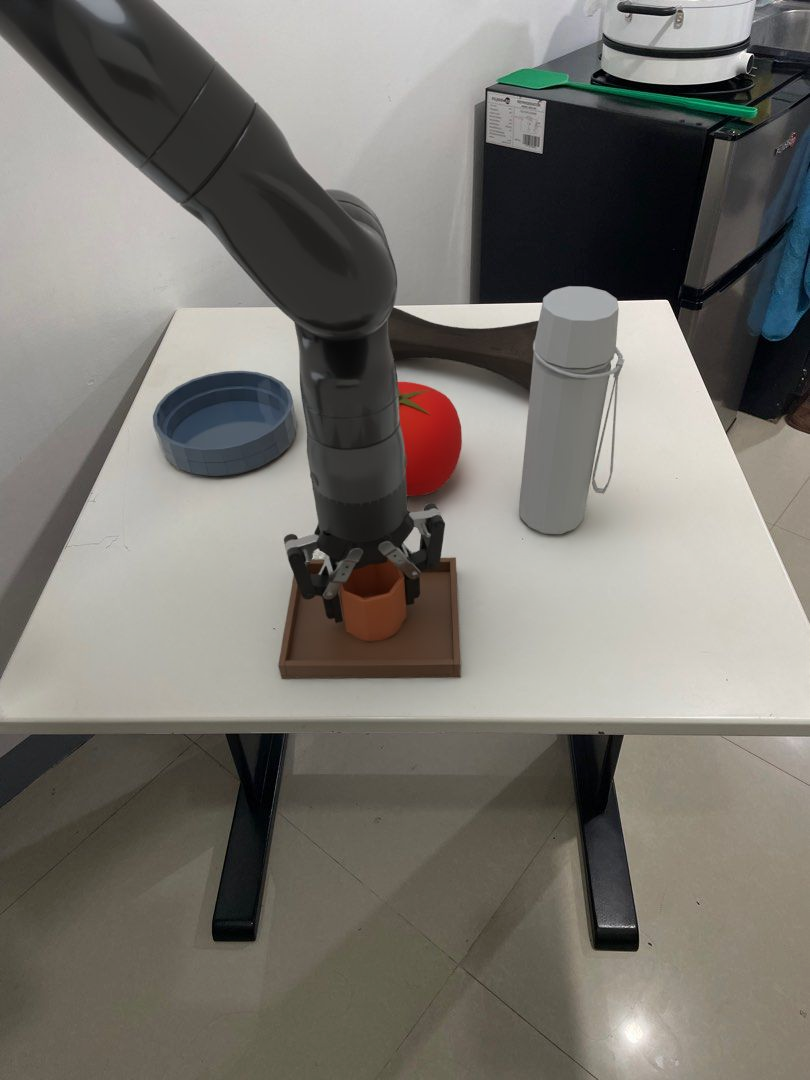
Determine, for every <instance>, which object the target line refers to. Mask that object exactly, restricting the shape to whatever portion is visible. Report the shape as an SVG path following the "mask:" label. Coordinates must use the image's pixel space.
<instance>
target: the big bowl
mask: <svg viewBox="0 0 810 1080" xmlns="http://www.w3.org/2000/svg"><path fill="white" fill-rule="evenodd" d="M152 422H153V423H152V424H153V425H152V427H153V429H154V432H155V435H156V438H157V441H158V443H159V447H160V450H161V452H162V454H163V455H164V457H165V458H166V460H167V462H169V463H170V464H171V465H173V466H174V467H175V468H177V469H179V470H181V471H185V472H187V473H189V474H195V475H202V476H209V477H225V476H232V475H239V474H244V473H247V472H250V471H253V470H256V469H258V468H260V467H263V466H264V465H267V464H268V463H270V462H271V461H273V460H274V459H277V458H278V457H279V456H280V455H282V453H284V452H285V451H286V450H287V449H288V448H289V447H290V446H291V444H292V442H293V440H294V439H295V437H296V435H297V429H298V423H297V422H298V421H297V417H296V410H295V405H294V399H293V396H292V393H291V390H290V389H289V388H288V387H287V385H285V383H284V382H283V381H281V380H279V379H277V378H276V377H274V376H272V375H268V374H266V373H262V372H258V371H249V370H228V371H227V370H226V371H219V372H214V373H209V374H205V375H202V376H199V377H198V376H197V377H196V378H193V379H190V380H188V381H186V382H184V383H181V384H179V385H178V386H176V387H175V388H173V389H171V390H170V391H169V392H168V393H166V394H165V395H164V396H163V397H162V398H161V400H160V401H159V402H158V403H157V405H156V406H155V408H154V411H153V414H152Z"/></svg>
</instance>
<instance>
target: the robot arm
mask: <svg viewBox="0 0 810 1080" xmlns="http://www.w3.org/2000/svg"><path fill="white" fill-rule="evenodd" d="M0 37H1V38H2V39H3V40H4V41H5V42H6V43H7V44H8V45H9V46H10V47H11V48H12V49H13V50H14V51H15V53H16V54H18V55H19V56H20V58H22V59H23V61H25V62H26V63H27V64H28V66H30V67H31V68H32V70H34V72H35V73H37V75H38V76H39V77H40V78H41V79H42V80H43V81H44V82H45V83H46V84H47V85H48V86H50V88H51V89H52V90H53V91H54V92H55V93H56V94H57V96H59V97H60V98H61V99H62V100H63V101H64V102H65V103H66V105H68V106H69V107H70V108H71V109H72V110H73V111H74V112H75V113H76V114H77V115H78V116H79V117H80V118H81V119H82V120H83V121H84V122H85V123H86V124H87V125H88V126H89V127H90V128H91V129H92V130H93V131H95V133H97V134H98V135H99V136H100V137H101V138H102V139H103V140H104V141H105V142H107V143H108V144H109V145H110V146H111V147H112V148H113V149H114V150H115V151H116V152H117V153H118V154H120V155H121V156H122V157H123V158H124V159H125V160H126V161H128V162H129V164H131V165H132V166H133V167H134V168H135V169H137V170H138V171H139V172H140V173H141V174H142V175H144V176H145V177H146V178H147V179H149V180H150V181H151V182H152V183H153V184H154V185H155V186H157V187H158V188H159V189H160V190H161V191H162V192H164V194H166V195H167V196H169V198H171V199H172V200H173V201H174V202H176V203H177V204H178V205H179V206H180V207H181V208H183V209H184V210H185V211H186V212H187V213H189V214H190V215H191V216H193V217H194V218H196V219H197V220H198V221H199V222H201V223H202V224H203V225H204V226H205V227H206V228H207V229H208V230H209V231H210V232H211V233H212V234H213V236H214V237H216V239H217V240H218V242H220V244H221V245H222V246H223V248H224V250H226V251H227V253H228V254H229V255H230V256H231V258H232V259H233V260H234V261H235V262H236V263H237V264H238V266H239V267H240V268H241V269H242V270H243V271H244V272H245V273H246V275H247V276H248V277H249V278H250V279H251V280H252V281H253V282H254V284H255V285H256V286H257V287H258V288H259V289H260V290H261V291H262V293H263V294H264V295H265V296H266V297H267V299H269V300H270V301H271V302H272V303H273V304H274V305H275V307H276V308H278V309H279V310H280V311H281V312H282V313H283V314H284V315H285V316H287V317H288V318H289V319H290V320H291V321H293V323H294V329H295V333H296V338H297V344H298V354H299V355H298V357H299V360H298V361H299V364H298V365H299V367H298V368H299V389H300V396H301V404H302V410H303V415H304V416H303V417H304V421H305V427H306V429H305V430H306V455H307V461H308V468H309V476H310V477H309V478H310V479H311V487H312V492H313V498H314V504H315V505H314V506H315V510H316V517H317V525H316V528H315V530H314V533H313V534H309V535H307V536H303V537H299V536H298V535H297V534H294V533H288V534H287V535H285V536H284V538H283V544H284V548H285V553H286V556H287V560H288V563H289V566H290V568H291V571H292V573H293V577H294V576H295V579H296V582H297V584H298V587H299V590H300V592H301V595H302V597H303V598H304V599H306V600H309V599H312V598H314V597H315V595H317V596H321V597H322V599H323V604H324V608H325V612H326V616H327V617H328V618H329V619H333V618H334V619H335V623H338V622H343V618H342V611H341V605H340V598H339V594H338V590H339V588H340V587H341V585H342V583H346V581H347V580H348V578H349V576H350V574H351V572H352V570H356V569H360V568H363V567H365V566H368V565H370V564H381V563H386V562H387V559H389V560H390V561H391V562H392V563H393V564H394V565H395V566H396V567H397V568H398V569H399V570H402V572H403V575H404V580H405V598H406V604H407V605H411V604H414V598H418V597H419V595H420V575H421V572H422V571H424V570H426V569H429V570H435V569H437V568H438V567H439V565H440V559H441V558H442V550H443V543H444V536H445V535H444V534H445V527H446V522H445V521H444V519H443V516H442V514H441V512H440V510H439V508H438V506H437V504H436V503H434V502H428V503H426V504H425V505H424V506H423V510H421V511H413V512H411V511H410V510H409V509H408V496H407V486H406V465H407V458H406V454H405V447H404V438H403V433H402V429H401V424H400V416H399V397H398V382H399V381H398V373H397V367H396V362H395V360H394V358H393V354H392V350H391V346H390V342H389V336H388V317H389V315H390V314H391V311H392V309H393V307H394V308H395V304H396V300H397V299H396V298H397V293H398V274H397V269H396V264H395V261H394V258H393V255H392V252H391V248H390V245H389V242H388V240H387V236H386V233H385V230H384V228H383V224H382V223H381V220H380V219H379V217H378V216H377V215H376V213H375V212H374V210H372V208H371V207H370V206H369V205H368V204H367V203H366V202H365V201H364V200H362V199H361V198H360V197H358V196H356V195H355V194H353V193H351V192H348V191H345V190H340V189H333V188H329V189H326V188H325V189H324V188H323V186H322V185H321V184H320V183H319V182H317V180H316V179H315V178H314V177H313V176H312V175H311V174H310V173H309V172H308V171H307V170H306V169H305V168H304V167H303V165H302V164H301V163H300V162H299V160H298V158H297V157H296V155H295V153H294V152H293V150H292V148H291V145H290V143H289V141H288V139H287V137H286V136H285V134H284V133H283V131H282V130H281V128H280V127H279V126H278V124H277V123H276V122H275V120H274V119H273V118H272V116H270V114H269V113H268V112H267V111H266V110H265V109H264V108H263V107H262V106H261V105H260V104H259V102H257V101H255V99H254V97H253V96H252V95H251V94H249V92H248V91H247V90H246V89H245V88H244V87H243V86H242V85H241V84H240V83H239V82H238V81H237V80H236V79H235V78H234V77H233V76H232V75H231V74H230V72H228V71H227V70H226V68H225V67H224V66H222V64H220V63H219V61H218V60H216V59H215V57H214V56H213V55H211V53H210V52H208V50H207V49H206V48H204V46H203V45H202V44H201V43H200V42H199V41H197V39H195V37H194V36H193V35H191V33H189V32H188V31H187V30H186V29H185V27H183V26H182V25H181V24H180V23H179V22H178V21H177V20H176V19H175V18H174V17H173V16H171V14H170V13H168V12H167V11H166V9H164V8H163V7H161V5H159V3H157V2H156V1H155V0H0ZM414 528H416V529H417V530H418V532H419V534H420V538H419V549H418V550H417V551H415V552H412V551H411V549H409V548H408V546H407V545H406V544H405V543H404V542H405V541H406V540H407V539H408V537H409V536H410V535H411V534H412V532H413V530H414ZM316 550H319V551H320V552H322V553H323V554H324V559H325V561H324V564H323V566H322V568H321V570H320V572H319V574H318V575H311V574H310V571H309V568H308V566H307V565H309V564H310V561H311V560H312V559H313V558H314V552H315V551H316Z"/></svg>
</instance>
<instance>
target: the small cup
mask: <svg viewBox="0 0 810 1080" xmlns="http://www.w3.org/2000/svg"><path fill="white" fill-rule="evenodd" d="M338 594H339V598H340V605H341V611H342V618H343V622H344V625H345V628H346V631H347V632H348V633H350V634H351V635H353V636H354V637H356V638H358V639H361V640H364V641H380V640H384V639H387V638H389V637H391V636H392V635H394V634H395V633H396V632H397V631H398V630H399V629H400V627H401V626H402V624H403V621H404V620H405V618H406V598H405V580H404V575H403V572H402V570H399V569H398V568H397V567H396V566H395V565H394V564H393V563H392V562H391V561H390V560H389V559H387V562H386V563H381V564H370V565H368V566H365V567H363V568H360V569H356V570H352V572H351V574H350V576H349V578H348V580H347V581H346V583H342V585H341V587H340V588H339V590H338Z"/></svg>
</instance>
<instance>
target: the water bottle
mask: <svg viewBox="0 0 810 1080" xmlns="http://www.w3.org/2000/svg"><path fill="white" fill-rule="evenodd" d="M619 310H620V308H619V303H618V298H616V297H615V296H613V295H612V294H610V293H609V292H608V291H606V290H603V289H598V288H595V287H591V286H579V285H578V286H575V285H573V286H572V285H568V286H565V287H560V288H557V289H553V290H551V291H550V292H548V293H547V294H546V295H545V296H544V297H543V298H542V303H541V308H540V313H539V318H538V321H539V322H538V327H537V332H536V337H535V340H534V343H533V350H534V357H533V367H532V377H531V388H530V391H529V399H528V400H529V401H528V410H527V420H526V429H525V430H526V431H525V440H524V451H523V461H522V471H521V483H520V493H519V502H518V516H519V517H520V518H521V519H522V521H523V522H524V523H525V524H526V525H527V526H528V528H531V529H533V530H535V531H537V532H539V533H541V534H543V535H562V534H565V533H567V532H570V531H574V530H575V529H576V528H577V527H578V526H579V525H580V524H581V522H582V521H583V520H584V518H585V513H586V507H587V502H588V497H589V490H590V485H592V488H593V491H594V493H597V494H602V495H604V494H605V493H606V491H607V489H608V488H609V484H610V482H611V478H612V474H613V472H614V456H615V440H616V439H615V438H616V422H617V421H616V420H617V402H618V386H619V385H618V384H619V376H620V374H621V371H622V368H623V366H624V363H625V359H624V358H623V354H622V352H620V349H619V348H618V347H617V339H618V338H617V337H618V322H619V312H620V311H619ZM615 355H616V356H617V361H616V364H615V367H614V368H612V361H613V360H614V359H615ZM611 375H613V378H614V380H613V383H612V389H611V393H610V398H609V402H608V406H607V410H606V415H605V418H604V425H603V428H602V431H601V436H600V441H599V435H600V429H601V425H602V419H603V414H604V408H605V402H606V397H607V392H608V386H609V382H610V381H609V380H610V377H611ZM613 395H614V402H613V403H614V405H613V407H614V408H613V421H612V437H611V451H610V467H609V468H610V469H609V476H608V480H607V482H606V484H605V486H604V487H603V488H602V487H598V486H597V482H596V479H595V478H596V473H597V469H598V464H599V459H600V454H601V450H602V446H603V441H604V437H605V432H606V428H607V423H608V418H609V413H610V409H611V404H612V401H613V400H612V399H613ZM598 441H599V446H598ZM597 447H598V450H597ZM596 452H597V453H596Z"/></svg>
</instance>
